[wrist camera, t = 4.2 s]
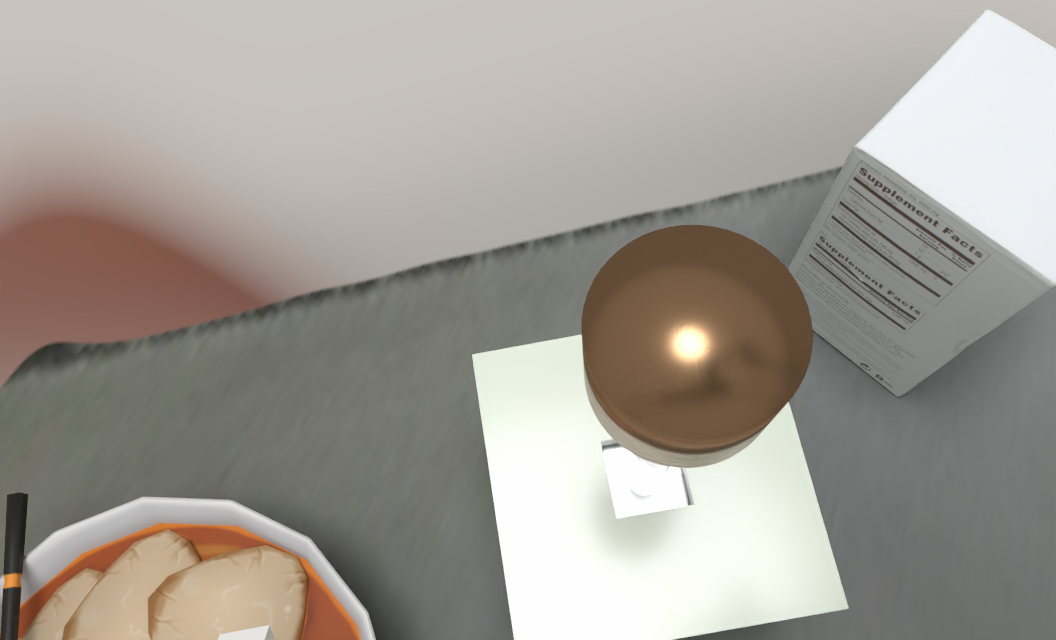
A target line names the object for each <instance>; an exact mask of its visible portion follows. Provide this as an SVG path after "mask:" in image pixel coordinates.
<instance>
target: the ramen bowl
mask: <svg viewBox="0 0 1056 640" xmlns="http://www.w3.org/2000/svg"><path fill="white" fill-rule="evenodd" d="M27 502H28V494H24V493H15V494H9V495H7V512H6V533H5V554H4V574H3V575H2V576H1V577H0V640H218V638H219V635H220V634H224V633H230V632H235V631H240V630H246V629H251V628H256V627H262V626H267V625H269V626H270V628H271V630H272V633H273V635H274V638H275V640H376V638H375V634H374V631H373V627H372V624H371V620H370V617H369V613H368V612H367V610H366V609H365V608H364V606H363V605H362V604H361V603H360V601H359V600H358V599H357V597H356V596H355V595H354V594H353V592H352V591H351V590H350V588H349V587H348V586H347V585H346V583H345V582H344V581H343V580H342V578H341V577H340V576H339V574H338V573H337V572H336V571H335V569H334V568H333V567H332V565H331V564H330V563H329V562H328V560H327V559H326V558H325V556H324V555H323V554H322V553H321V551H320V550H319V549H318V548H317V546H316V545H315V544H314V542H313V541H312V540H311V539H310V538H309V537H307V536H305V535H303V534H301V533H299V532H297V531H295V530H292V529H290V528H288V527H286V526H284V525H282V524H280V523H278V522H276V521H274V520H272V519H270V518H268V517H266V516H264V515H262V514H260V513H257V512H255V511H253V510H251V509H249V508H247V507H245V506H243V505H241V504H239V503H237V502H235V501H233V500H223V499H194V498H165V497H141V498H139V499H136V500H134V501H131V502H128V503H126V504H123V505H121V506H118V507H116V508H113V509H110V510H108V511H105V512H103V513H100V514H98V515H95V516H92V517H90V518H87V519H85V520H82V521H80V522H77V523H74V524H72V525H69V526H67V527H64V528H62V529H59V530H56V531H55V532H53V533H52V534H51V535H50V536H49V537H47V538H46V539H45V540H44V541H43V542H41V543H40V544H39V545H38V546H37V547H35V548H34V549H33V550H32V551H31V552H29V553H28V554H27V555H26V556H25V557H24V544H25V530H26V516H27Z"/></svg>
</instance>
